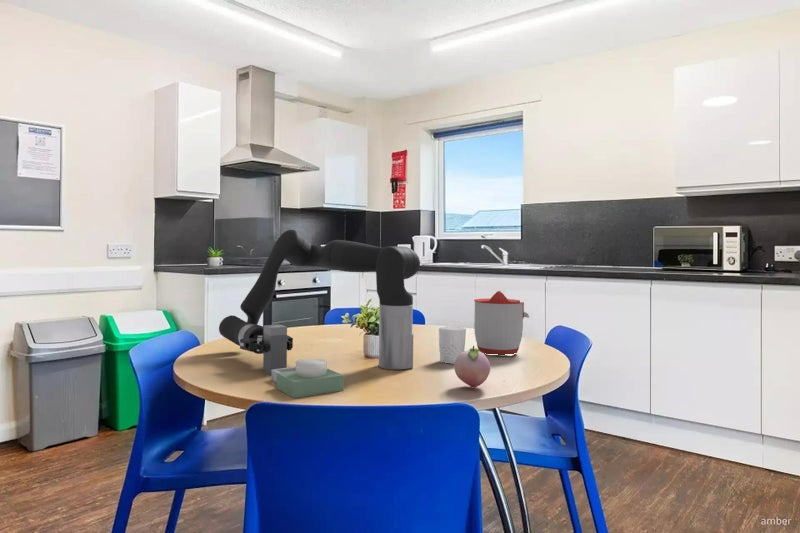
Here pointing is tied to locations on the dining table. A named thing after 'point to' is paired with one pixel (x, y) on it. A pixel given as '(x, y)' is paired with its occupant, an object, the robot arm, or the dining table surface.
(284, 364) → the tall grey square pillar
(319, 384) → the shallow green tray
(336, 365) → the dining table surface
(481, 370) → the decorative fruit
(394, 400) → the dining table surface
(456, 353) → the white cup
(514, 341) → the citrus juicer
